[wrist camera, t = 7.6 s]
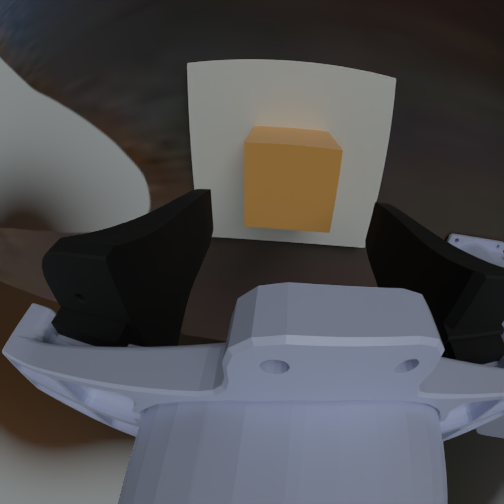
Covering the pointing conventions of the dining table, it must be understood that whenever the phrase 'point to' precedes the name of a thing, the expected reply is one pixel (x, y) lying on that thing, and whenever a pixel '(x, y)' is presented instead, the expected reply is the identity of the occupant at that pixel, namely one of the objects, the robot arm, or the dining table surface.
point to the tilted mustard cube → (290, 178)
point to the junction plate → (292, 116)
